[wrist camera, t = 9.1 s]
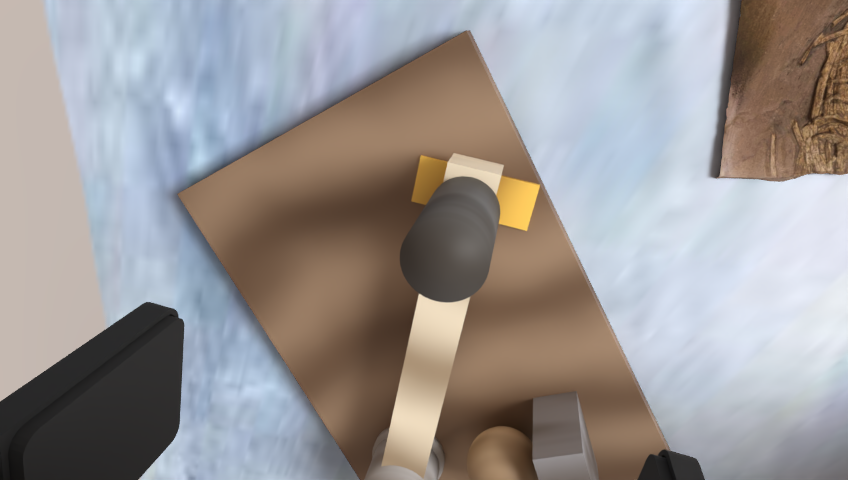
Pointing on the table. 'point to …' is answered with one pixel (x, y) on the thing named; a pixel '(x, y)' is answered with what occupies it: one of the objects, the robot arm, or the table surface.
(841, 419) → the table surface
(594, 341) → the press board
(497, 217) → the lever
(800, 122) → the wooden fragment
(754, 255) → the table surface
